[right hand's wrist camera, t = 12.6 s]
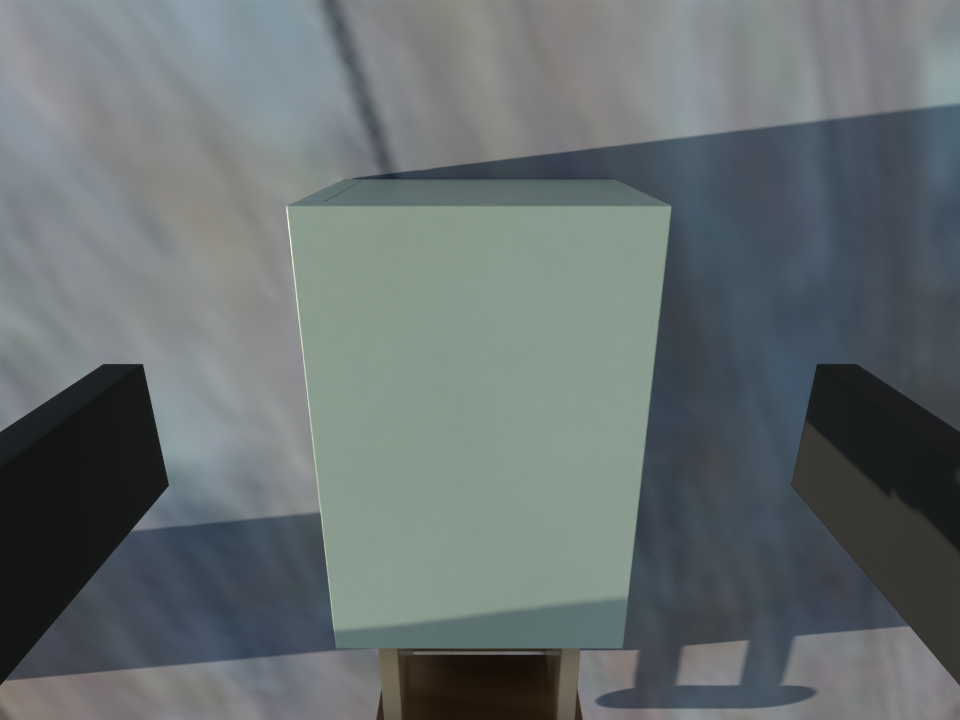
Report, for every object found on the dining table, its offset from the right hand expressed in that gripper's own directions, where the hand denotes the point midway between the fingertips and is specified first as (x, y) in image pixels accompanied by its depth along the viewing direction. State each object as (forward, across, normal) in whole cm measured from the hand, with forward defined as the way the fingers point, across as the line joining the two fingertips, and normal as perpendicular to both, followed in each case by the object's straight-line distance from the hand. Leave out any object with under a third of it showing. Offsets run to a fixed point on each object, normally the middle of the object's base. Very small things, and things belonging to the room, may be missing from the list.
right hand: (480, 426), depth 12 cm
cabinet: (+15, 0, -5) cm, 16 cm away
